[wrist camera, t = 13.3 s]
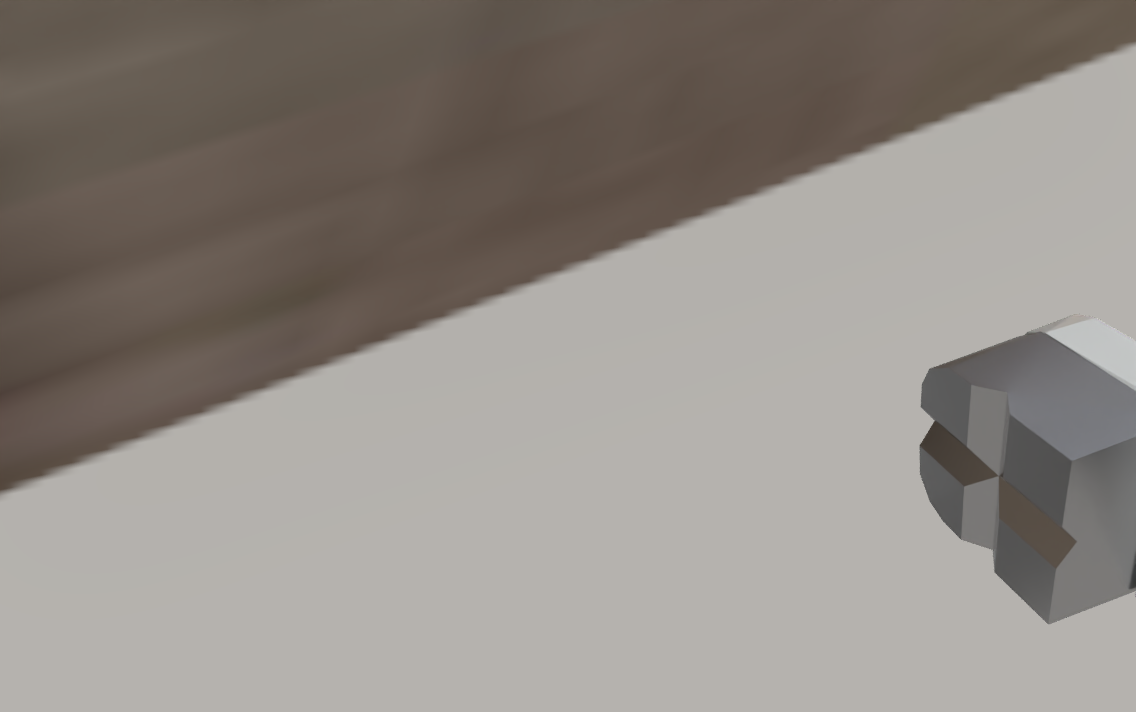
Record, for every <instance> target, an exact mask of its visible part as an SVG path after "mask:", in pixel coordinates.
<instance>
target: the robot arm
mask: <svg viewBox="0 0 1136 712" xmlns="http://www.w3.org/2000/svg"><path fill="white" fill-rule="evenodd" d="M921 408H922V409H923V410H924V411H925V412H926V413H927V414H928V415H930V416H931V417H932V418H933V419H934V420H935V421H934V423H933V425H932V426H931V428H930V430H929V431H928V433H927V434H926V436H925V438H924V439H923V441H922V443H921V444H920V475H921V478H922V481H923V483H924V486H925V489H926V492H927V495H928V498H929V500H930V502H931V504H932V505H933V507H934V508H935V510H936V511H937V513H938V514H939V516H940V517H941V519H942V520H943V522H945V523H946V525H947V526H948V527H949V528H950V529H951V530H952V531H953V532H954V533H955V534H956V535H957V536H958V537H959V538H960V539H961V540H964V541H967V542H971V543H973V544H977V545H980V546H983V547H986V548H989V549H992V550H993V558H994V571H995V573H996V574H997V575H998V576H999V577H1000V578H1001V579H1002V580H1003V581H1004V582H1005V583H1006V584H1007V585H1008V586H1009V587H1010V588H1011V589H1012V590H1013V591H1014V592H1015V593H1017V594H1018V595H1019V596H1020V597H1021V598H1022V599H1023V600H1024V601H1025V602H1026V603H1027V604H1028V605H1029V606H1030V607H1031V608H1032V609H1033V610H1034V611H1035V612H1036V613H1037V614H1038V615H1039V616H1040V617H1041V618H1042V619H1043V620H1045V622H1046V623H1048V624H1051V623H1053V622H1056V621H1059V620H1061V619H1064V618H1067V617H1069V616H1072V615H1074V614H1077V613H1080V612H1082V611H1085V610H1087V609H1090V608H1093V607H1095V606H1098V605H1100V604H1103V603H1106V602H1108V601H1111V600H1113V599H1116V598H1118V597H1121V596H1124V595H1126V594H1129V593H1132V592H1134V591H1136V341H1135V340H1134V339H1132V338H1130V337H1128V336H1127V335H1125V334H1123V333H1121V332H1120V331H1118V330H1116V329H1114V328H1113V327H1111V326H1109V325H1107V324H1106V323H1104V322H1102V321H1100V320H1099V319H1097V318H1095V317H1090V316H1084V315H1078V314H1074V315H1072V316H1069V317H1066V318H1064V319H1061V320H1058V321H1056V322H1053V323H1050V324H1048V325H1045V326H1043V327H1040V328H1037V329H1035V330H1032V331H1029V332H1027V333H1026V334H1025V335H1023V336H1019V337H1016V338H1013V339H1011V340H1008V341H1005V342H1002V343H999V344H997V345H994V346H991V347H988V348H986V349H983V350H980V351H977V352H975V353H972V354H969V355H967V356H964V357H961V358H958V359H956V360H953V361H950V362H947V363H944V364H942V365H939V366H936V367H934V368H931V369H929V371H928V373H927V375H926V377H925V379H924V381H923V383H922V394H921ZM1135 597H1136V593H1135Z"/></svg>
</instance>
